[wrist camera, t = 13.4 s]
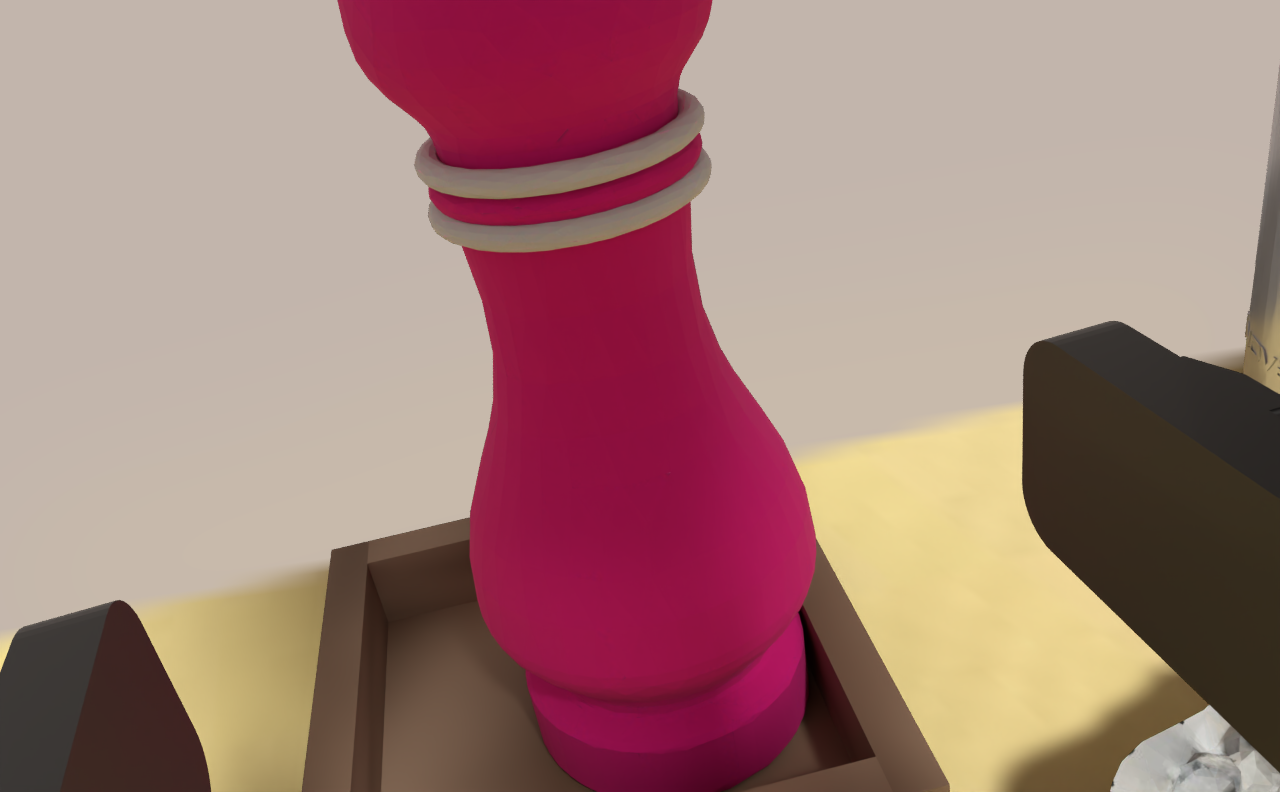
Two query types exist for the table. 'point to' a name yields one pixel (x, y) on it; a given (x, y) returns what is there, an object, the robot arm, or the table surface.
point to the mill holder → (501, 704)
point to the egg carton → (1196, 760)
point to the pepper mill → (606, 388)
